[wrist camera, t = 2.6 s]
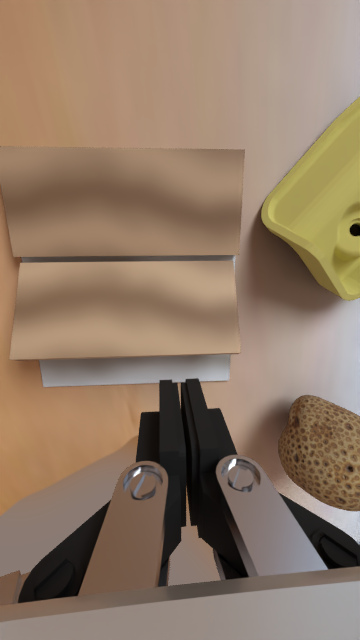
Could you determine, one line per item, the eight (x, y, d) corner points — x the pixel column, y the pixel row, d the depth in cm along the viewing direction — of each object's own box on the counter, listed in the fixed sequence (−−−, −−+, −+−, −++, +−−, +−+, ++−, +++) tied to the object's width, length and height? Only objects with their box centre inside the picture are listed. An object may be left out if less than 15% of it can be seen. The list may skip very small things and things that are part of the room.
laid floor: (228, 379, 27) (232, 386, 25) (44, 385, 26) (37, 393, 24) (239, 153, 21) (244, 146, 20) (4, 150, 20) (-7, 143, 19)
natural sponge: (304, 460, 30) (369, 558, 21) (246, 429, 29) (287, 519, 19) (355, 403, 29) (452, 481, 19) (296, 366, 27) (370, 431, 17)
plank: (237, 354, 21) (241, 352, 20) (18, 360, 20) (9, 359, 19) (230, 266, 23) (233, 260, 22) (27, 268, 22) (20, 262, 21)
